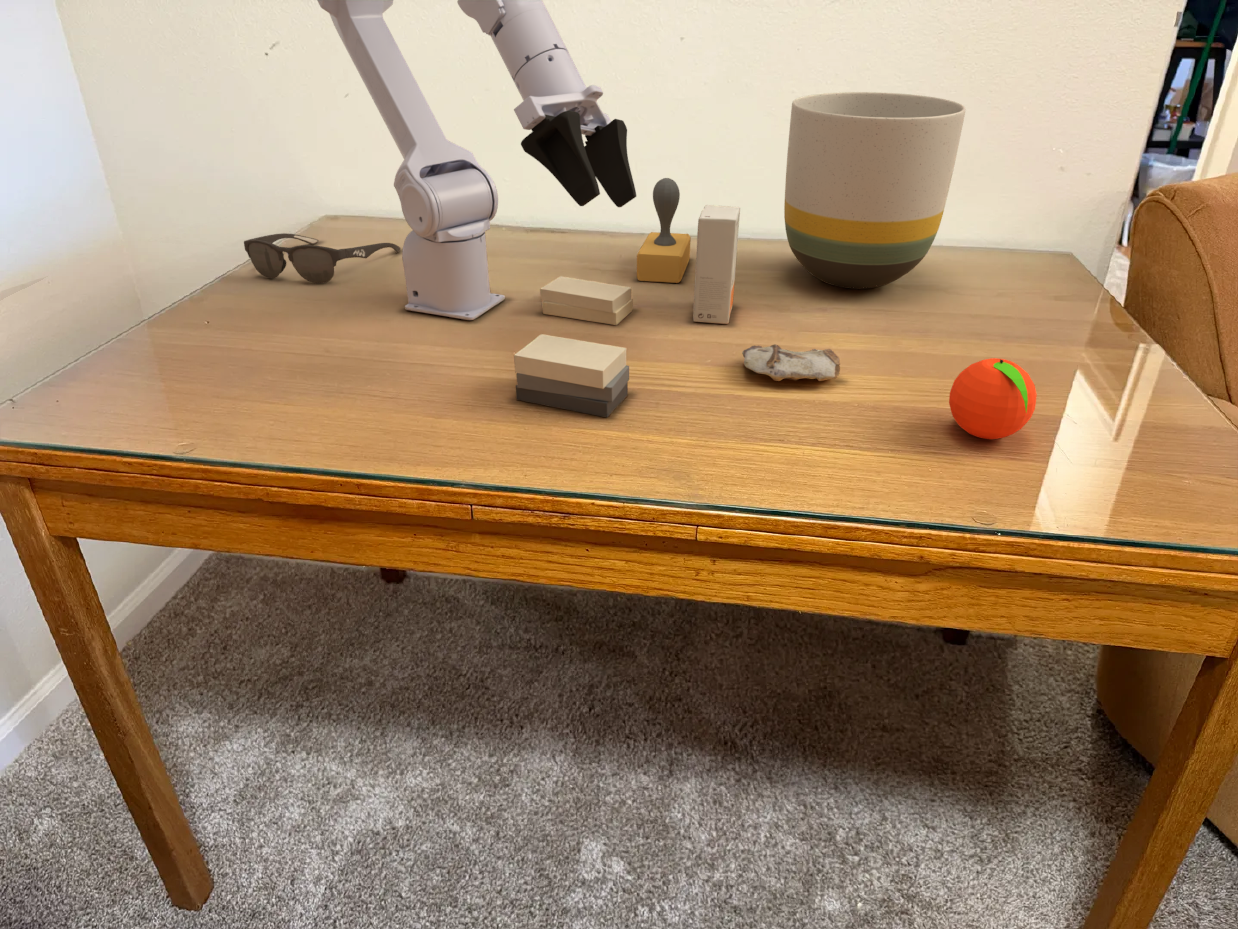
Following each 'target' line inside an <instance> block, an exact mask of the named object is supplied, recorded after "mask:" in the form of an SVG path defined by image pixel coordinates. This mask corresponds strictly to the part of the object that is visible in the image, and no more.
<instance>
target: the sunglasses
mask: <svg viewBox="0 0 1238 929" xmlns="http://www.w3.org/2000/svg"><path fill="white" fill-rule="evenodd" d="M284 239H294V240H297V241H298V240H299V241H301V242H304V243H306V244H303V245H296V246H295V245H294V246H291V247H285V246H279V245H277V244H274V243H275V242H277V241H280V240H284ZM319 241H320V240H319V239H317V238H313V237H309V236H304V235H301V234H295V233H287V232H286V233H285V232H283V233H273V234H269V235H268V234H267V235H264V236H259V237H254V238H249V239H246V240H244V241H243V246H244V251H245V252H246V253H247V256H248V258H249V259H250V261H251V263H252V265H253V267H254V269H255V270H256V272H258V273H259V275H261V276H263V278H267V279H271V280H272V279H276V278H278V277H279V276H280V275H281V273H283V272H284V270H285V268H286V267H287V260H286V259H285V256H284V253H287V258H288V261H289V262H290V263H291V265H292V266H293V268H294V269H295V271H296V273H297V274H298V275H299V276H300V277H301V278H302V279H304V280H305V281H306V282H309V283H311V284H326V283H328V282H330V281H331V280H332V279H333V277H334V275H335V267H337V264H338V263H337V262H339V261H343V260H346V259H352V258H353V259H355V258H360V259H368V258H369V257H371V255H373V254H374V253H376V252H377V251H378V252H379V250H382V249H386V248H390V249H393V250H394V251H395V252H396V253H398V254H399V253H400V250H401V247H400V246H399V245H397V244H395V243H393V242H379V243H373V244H367V245H361V246H355V247H347V248H339V249H337V248H332V247H328V246H322V245H315V244H317V243H319Z"/></svg>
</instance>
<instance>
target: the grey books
mask: <svg viewBox="0 0 1238 929" xmlns="http://www.w3.org/2000/svg"><path fill="white" fill-rule="evenodd" d="M515 375H516V385H515V398H516V401H522V402H526V403H531V404H537V405H541V406H546V407H551V408H552V407H553V408H557V409H562V410H567V411H572V412H577V413H581V414H586V415H587V414H588V415H592V416H598V417H603V418H608V417H609V416H610V415H611V414H612V413H613V412H614V411H615V410H616V409H617V407H619V405H620V404H621V403H622V402H623V401H624V400H625V399H626V398H627V397H628V395H629V390H628V388H629V387H628V386H629V381H630V365H627V364H626V366H625V367H624V368H623V369H622V370H621V371H620V372H619V373H618V374H617V375H616V376H615V377H614V378H613V379H612V380H611V381H610V382H609V383H608V384H607V385H606V386H605V387H604V389H601V388H596V387H590V386H585V385H580V384H574V383H569V382H563V381H558V380H553V379H547V378H542V377H536V376H531V375H526V374H520V373H516V374H515Z"/></svg>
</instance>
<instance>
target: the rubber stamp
mask: <svg viewBox="0 0 1238 929" xmlns="http://www.w3.org/2000/svg"><path fill="white" fill-rule="evenodd" d="M680 196H681V193H680V189H679V186H678V184H677V182H676V181H675V180H674V179H672V178H670V177H663V178H660V179H659V180H658V181H657V182H656V183H655V184H654V187H653V191H652V201H653V205H654V208H655V212H656V214H657V217H658V221H659V226H660V232H659V231H658V232H656V231H655V232H654V231H651V232H649V233H648V235H647V237H646V238H645V240H644V242H643V243H642V245H641V247H640V249H639V250H638V252H637V254H636V278H637V280H638V281H641V282H658V283H672V284H673V283H676V284H678V283H680V282H681V281H682V279H683V276H684V275H685V271H686V269H687V267H688V264H689V262H690V260H691V242H692V241H691V240H692V239H691V238H692V236H690V234H689V233H678V232H676V233H675V232H671V226H672V222H673V219H674V216H675V214H676V211H677V209H678V207H679V203H680V199H681V198H680Z"/></svg>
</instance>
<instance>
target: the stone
mask: <svg viewBox="0 0 1238 929" xmlns="http://www.w3.org/2000/svg"><path fill="white" fill-rule="evenodd" d="M741 354H742V356H743V364H744V367H745V368H746V369H748V370H750V371H753V372H754V373H756V374H759V375H760V374H761V375H766V376H769V378H771V379H772V380H773V381H776V382H777V381H778V382H780V381H782V380H783V379H787V380H791V381H798V380H799V379H808V380H814V379H815V380H818V381H819V382H823V381H827V380H833V379H834V380H835V379H836V378H838V377H839V376H840V373H841V362H840V357H839V356H838V355H837V354H836V353H835V351H834V350H832V349H831V348H826V349H816V348H812V349H811V350H805V351H796V350H795V351H794V350H790V349H783V348H782V347H781V346H779V345H778V344H775V343H774V344H771V345H769V346H762V345H751V346H750V347H748V348H746V349H743V350H742V351H741Z"/></svg>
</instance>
